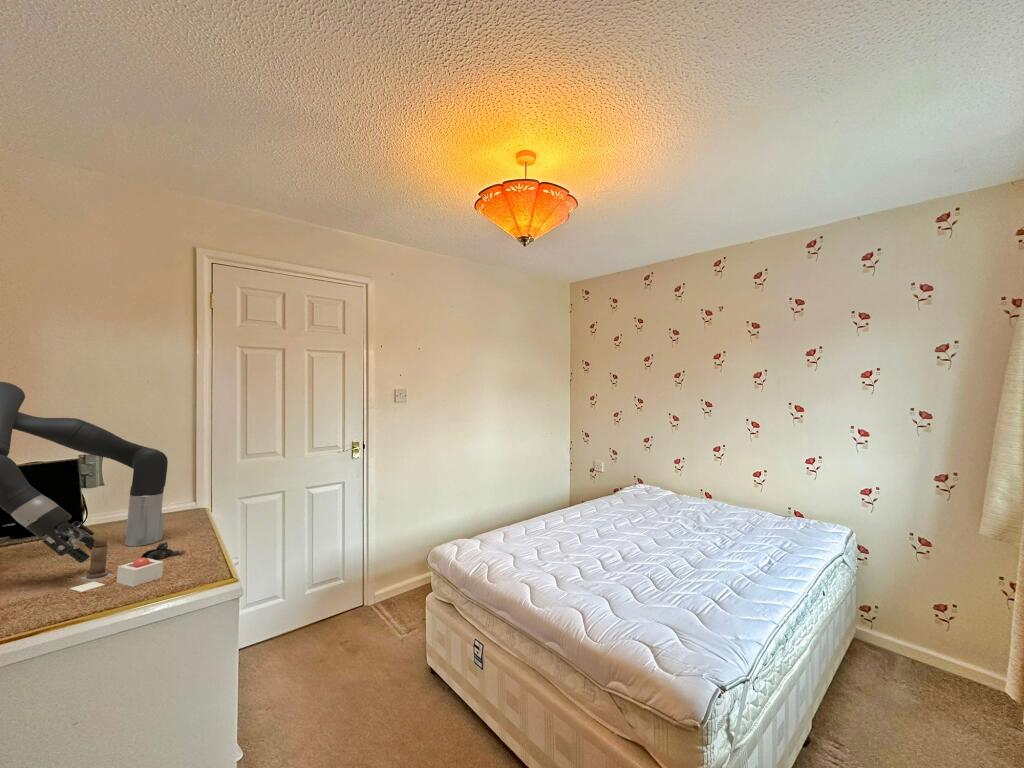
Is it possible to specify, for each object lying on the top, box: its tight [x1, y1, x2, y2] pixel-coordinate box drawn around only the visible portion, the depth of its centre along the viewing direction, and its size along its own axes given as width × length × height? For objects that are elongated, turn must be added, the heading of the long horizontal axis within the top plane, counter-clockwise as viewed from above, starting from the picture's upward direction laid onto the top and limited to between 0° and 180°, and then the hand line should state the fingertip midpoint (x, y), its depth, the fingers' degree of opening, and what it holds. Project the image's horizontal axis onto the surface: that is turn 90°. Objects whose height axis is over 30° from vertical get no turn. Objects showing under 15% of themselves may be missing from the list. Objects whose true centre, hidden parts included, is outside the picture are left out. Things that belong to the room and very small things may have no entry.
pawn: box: [85, 536, 109, 580], centre depth 118 cm, size 4×4×11 cm
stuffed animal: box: [140, 541, 186, 561], centre depth 133 cm, size 12×10×12 cm
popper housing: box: [116, 558, 164, 588], centre depth 117 cm, size 7×7×4 cm
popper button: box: [132, 557, 151, 568], centre depth 117 cm, size 4×4×5 cm
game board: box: [69, 572, 114, 593], centre depth 115 cm, size 14×20×1 cm
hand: (92, 554), depth 118 cm, fingers open, 8 cm apart
